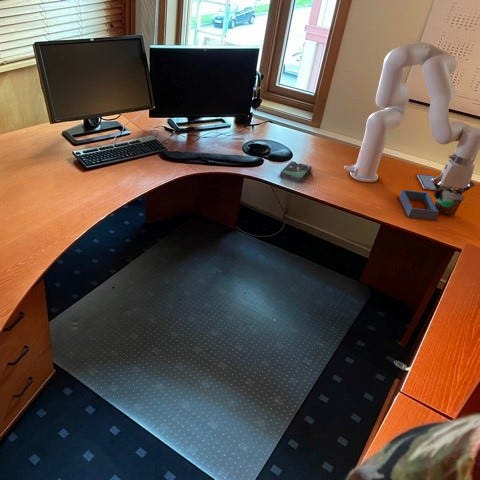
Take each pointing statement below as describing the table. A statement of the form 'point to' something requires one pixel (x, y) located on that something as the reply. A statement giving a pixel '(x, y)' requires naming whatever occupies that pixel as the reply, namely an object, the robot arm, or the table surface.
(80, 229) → the table surface
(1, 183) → the table surface
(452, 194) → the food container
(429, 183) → the smartphone
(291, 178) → the disk drive
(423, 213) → the rectangular frame
